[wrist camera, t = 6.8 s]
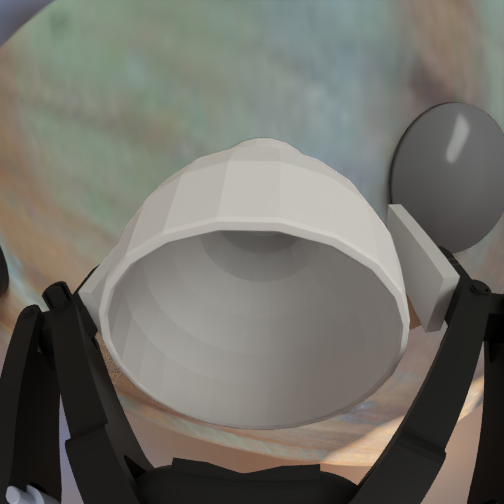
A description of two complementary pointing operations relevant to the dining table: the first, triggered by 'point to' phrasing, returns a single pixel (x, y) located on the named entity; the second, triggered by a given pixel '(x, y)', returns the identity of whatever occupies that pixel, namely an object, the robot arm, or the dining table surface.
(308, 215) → the cup
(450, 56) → the dining table surface
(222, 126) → the dining table surface
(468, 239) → the coaster
